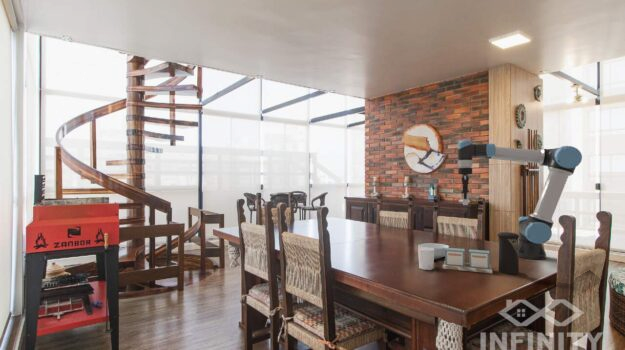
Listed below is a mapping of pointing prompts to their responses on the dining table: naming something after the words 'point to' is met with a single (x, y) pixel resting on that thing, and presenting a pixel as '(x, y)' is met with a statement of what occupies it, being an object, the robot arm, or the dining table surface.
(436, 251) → the cereal bowl
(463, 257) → the tea box
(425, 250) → the white cup
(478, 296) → the dining table surface
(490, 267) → the shelf
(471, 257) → the faced tea box
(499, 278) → the dining table surface
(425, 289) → the dining table surface
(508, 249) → the container
